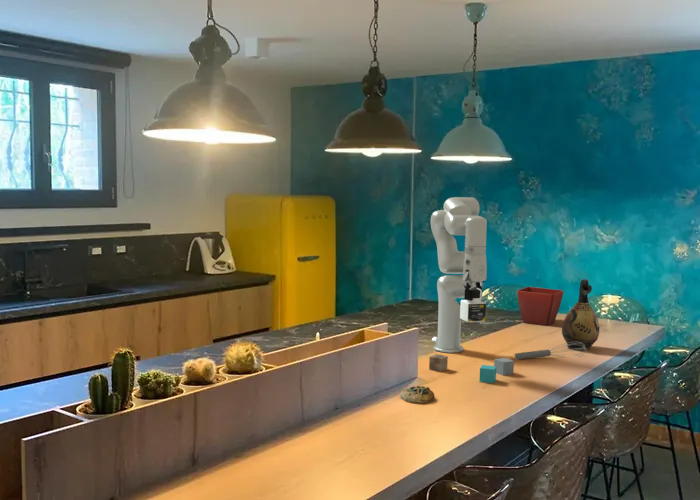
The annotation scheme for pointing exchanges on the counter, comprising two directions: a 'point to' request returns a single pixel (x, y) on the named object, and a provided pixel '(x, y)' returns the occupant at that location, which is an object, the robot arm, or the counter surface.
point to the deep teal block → (487, 374)
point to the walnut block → (438, 362)
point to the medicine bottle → (473, 308)
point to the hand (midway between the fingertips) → (473, 298)
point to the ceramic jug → (581, 322)
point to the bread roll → (417, 395)
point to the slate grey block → (504, 366)
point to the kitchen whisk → (541, 353)
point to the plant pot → (539, 304)
